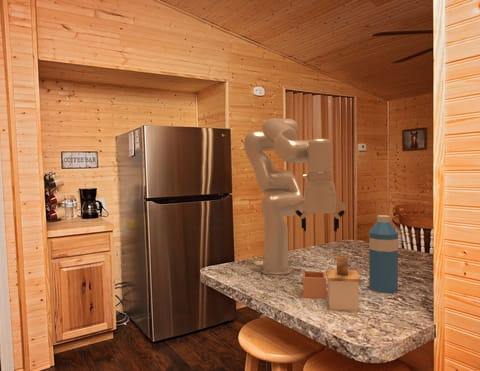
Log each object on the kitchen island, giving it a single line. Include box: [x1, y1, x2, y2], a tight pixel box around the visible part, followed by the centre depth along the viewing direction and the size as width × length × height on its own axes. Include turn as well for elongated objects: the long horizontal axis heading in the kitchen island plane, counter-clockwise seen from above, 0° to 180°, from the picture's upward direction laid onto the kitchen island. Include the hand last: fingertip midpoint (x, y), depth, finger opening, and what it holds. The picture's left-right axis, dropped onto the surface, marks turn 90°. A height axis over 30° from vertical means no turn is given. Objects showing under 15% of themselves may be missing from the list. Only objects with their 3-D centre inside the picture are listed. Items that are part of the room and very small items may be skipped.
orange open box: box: [302, 271, 327, 300], centre depth 118 cm, size 7×7×7 cm
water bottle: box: [368, 214, 399, 294], centre depth 123 cm, size 9×9×25 cm
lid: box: [325, 255, 362, 283], centre depth 109 cm, size 9×9×6 cm
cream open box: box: [327, 280, 360, 312], centre depth 109 cm, size 8×8×9 cm
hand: (320, 230), depth 118 cm, fingers open, 9 cm apart
